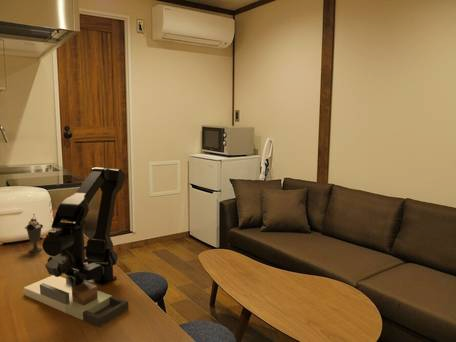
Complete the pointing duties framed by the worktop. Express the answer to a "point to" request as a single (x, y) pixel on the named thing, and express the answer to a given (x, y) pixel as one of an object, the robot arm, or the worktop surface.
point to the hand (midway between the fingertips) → (76, 292)
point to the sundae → (34, 233)
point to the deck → (71, 307)
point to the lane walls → (57, 292)
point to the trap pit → (106, 312)
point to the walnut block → (84, 293)
